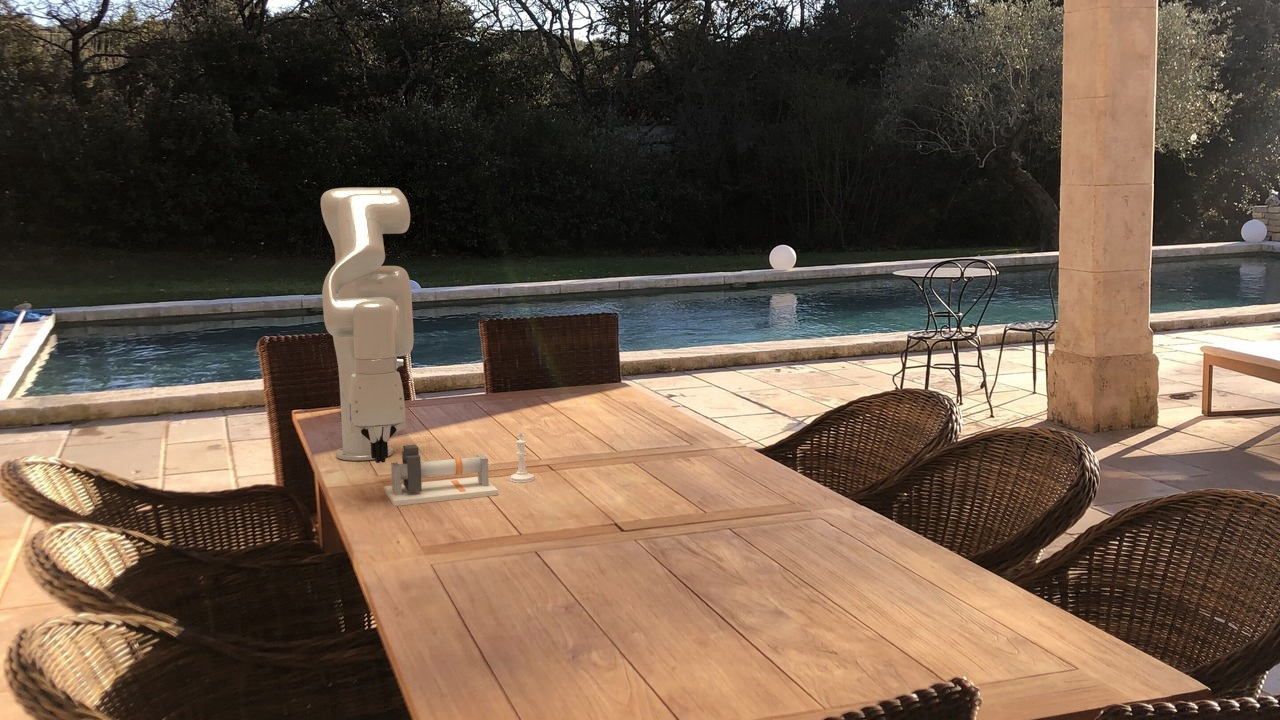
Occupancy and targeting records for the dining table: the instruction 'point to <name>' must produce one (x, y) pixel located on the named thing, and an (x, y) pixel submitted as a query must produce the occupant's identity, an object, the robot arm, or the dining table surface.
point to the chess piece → (521, 464)
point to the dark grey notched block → (412, 468)
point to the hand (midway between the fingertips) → (379, 461)
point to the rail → (442, 481)
